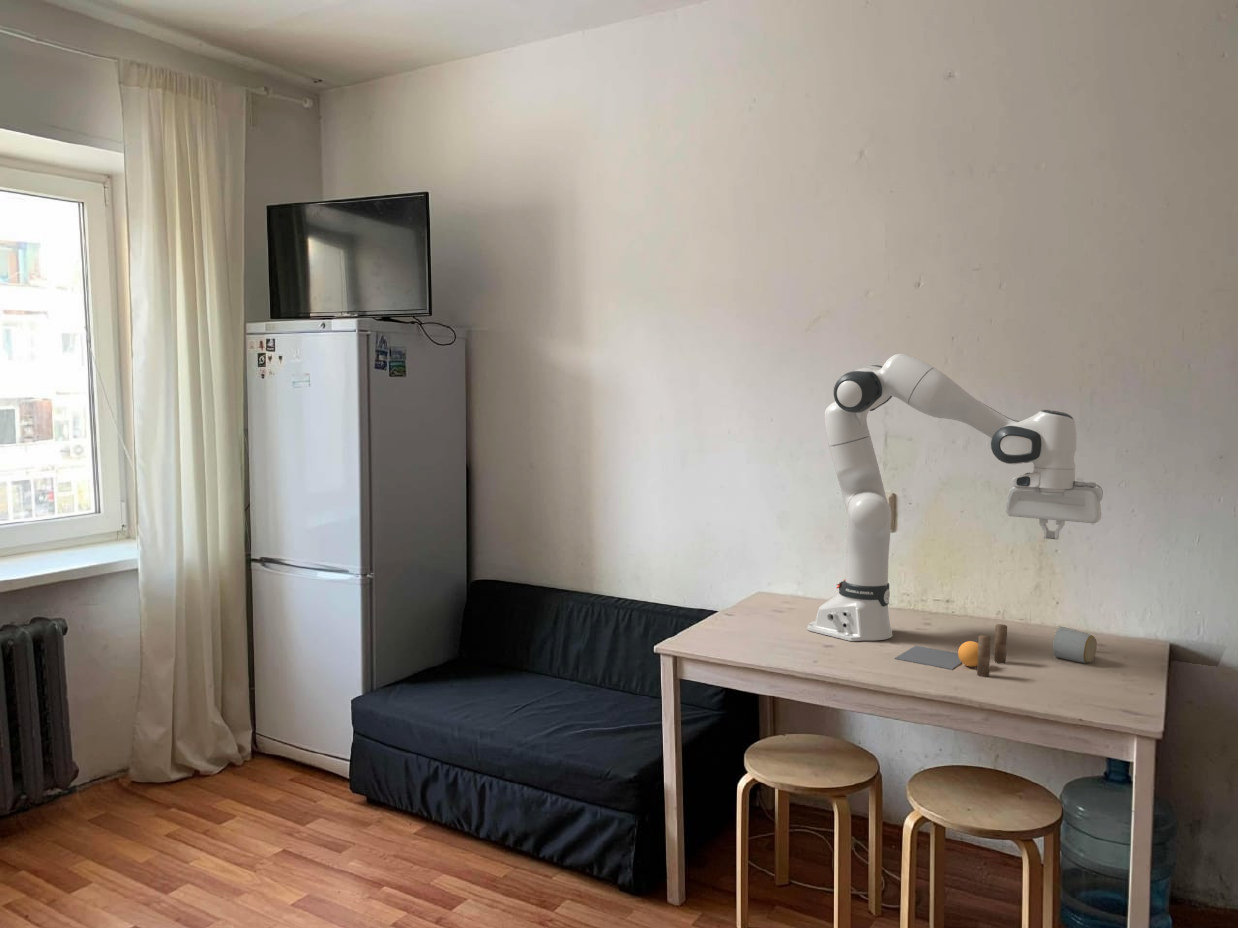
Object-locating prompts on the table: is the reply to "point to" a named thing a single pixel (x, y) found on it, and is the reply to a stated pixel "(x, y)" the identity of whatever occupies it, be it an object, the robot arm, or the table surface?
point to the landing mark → (931, 657)
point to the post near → (983, 656)
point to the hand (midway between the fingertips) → (1051, 538)
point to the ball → (969, 653)
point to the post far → (1000, 643)
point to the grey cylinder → (1074, 645)
